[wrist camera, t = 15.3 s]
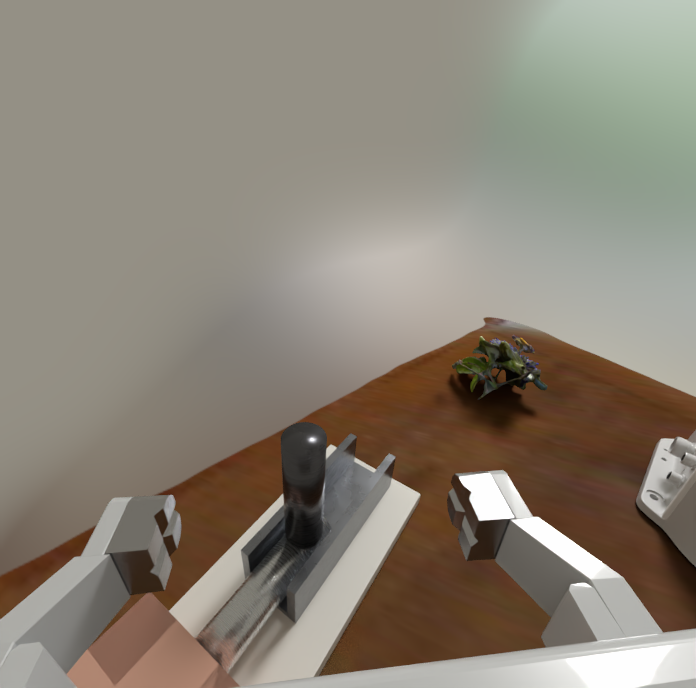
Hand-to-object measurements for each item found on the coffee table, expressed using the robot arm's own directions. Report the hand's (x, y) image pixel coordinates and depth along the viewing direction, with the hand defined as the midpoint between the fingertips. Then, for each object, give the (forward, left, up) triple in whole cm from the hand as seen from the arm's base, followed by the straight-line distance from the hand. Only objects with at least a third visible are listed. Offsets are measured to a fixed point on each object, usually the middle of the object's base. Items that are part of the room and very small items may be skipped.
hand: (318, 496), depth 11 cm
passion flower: (-48, -1, -27) cm, 55 cm away
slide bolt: (-3, -8, -24) cm, 25 cm away
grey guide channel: (-13, -8, -25) cm, 29 cm away
